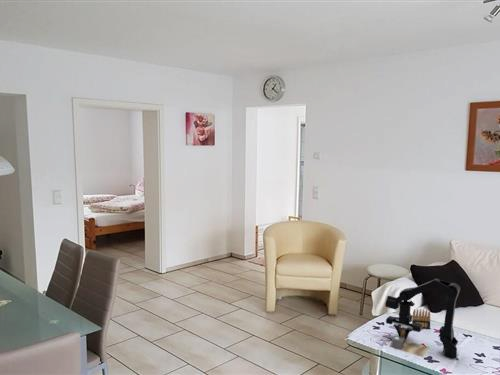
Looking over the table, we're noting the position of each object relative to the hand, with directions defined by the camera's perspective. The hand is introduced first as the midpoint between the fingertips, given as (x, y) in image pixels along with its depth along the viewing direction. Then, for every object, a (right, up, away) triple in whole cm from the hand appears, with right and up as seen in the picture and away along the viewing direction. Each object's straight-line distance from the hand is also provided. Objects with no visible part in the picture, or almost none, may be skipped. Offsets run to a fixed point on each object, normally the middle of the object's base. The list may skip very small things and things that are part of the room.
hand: (403, 338), depth 233 cm
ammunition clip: (+19, -2, +22) cm, 30 cm away
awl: (0, -1, 0) cm, 1 cm away
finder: (-5, -2, -6) cm, 9 cm away
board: (+1, -4, -6) cm, 7 cm away
